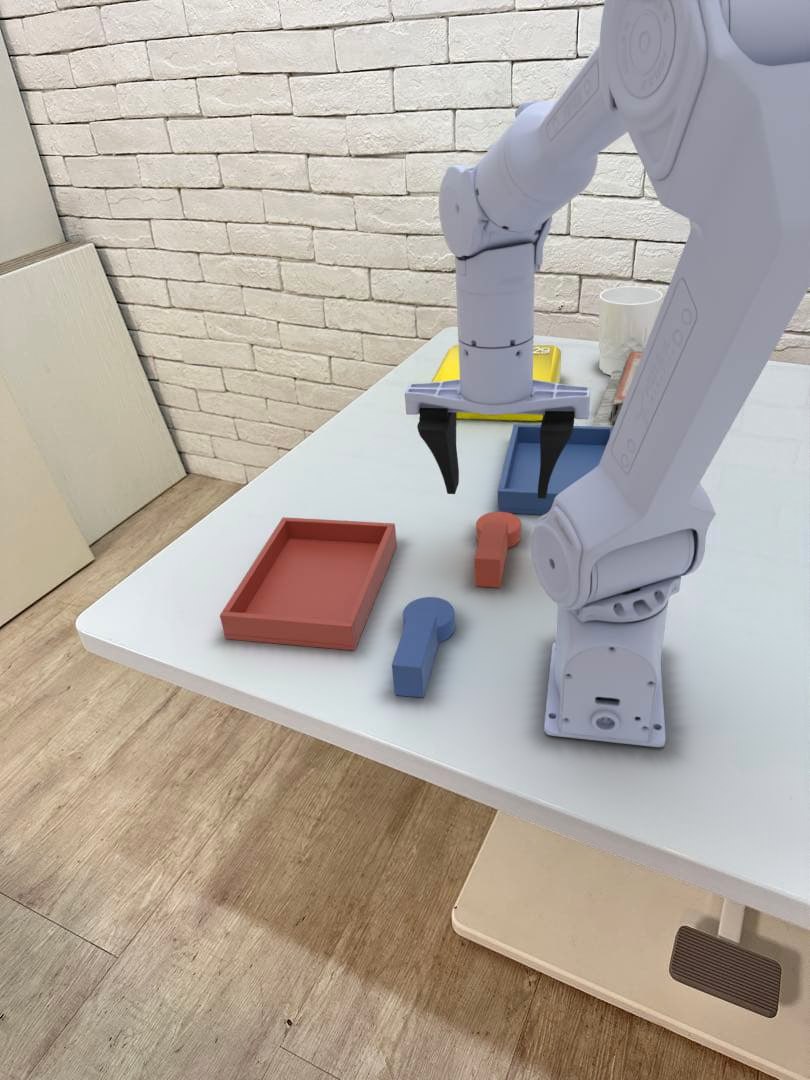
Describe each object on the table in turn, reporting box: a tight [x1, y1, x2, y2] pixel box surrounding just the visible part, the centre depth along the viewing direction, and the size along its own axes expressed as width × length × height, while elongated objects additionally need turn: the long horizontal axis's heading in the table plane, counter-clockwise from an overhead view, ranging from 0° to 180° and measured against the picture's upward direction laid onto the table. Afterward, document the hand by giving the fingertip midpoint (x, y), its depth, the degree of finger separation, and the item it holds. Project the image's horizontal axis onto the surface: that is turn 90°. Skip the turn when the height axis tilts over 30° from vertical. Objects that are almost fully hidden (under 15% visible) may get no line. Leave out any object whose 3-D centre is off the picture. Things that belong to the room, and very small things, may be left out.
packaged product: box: [592, 351, 643, 427], centre depth 95 cm, size 18×5×10 cm
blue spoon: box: [391, 596, 456, 699], centre depth 62 cm, size 10×4×3 cm, turn 168°
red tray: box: [219, 516, 398, 651], centre depth 70 cm, size 15×11×2 cm
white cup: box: [598, 285, 664, 377], centre depth 105 cm, size 8×8×10 cm
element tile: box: [430, 344, 562, 422], centre depth 102 cm, size 15×15×5 cm
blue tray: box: [497, 423, 614, 516], centre depth 84 cm, size 15×11×2 cm
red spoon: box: [474, 511, 522, 589], centre depth 73 cm, size 10×4×3 cm, turn 168°
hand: (497, 490), depth 68 cm, fingers open, 7 cm apart
